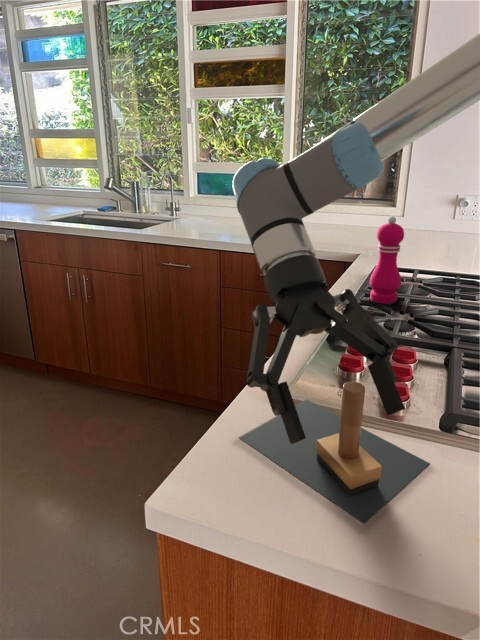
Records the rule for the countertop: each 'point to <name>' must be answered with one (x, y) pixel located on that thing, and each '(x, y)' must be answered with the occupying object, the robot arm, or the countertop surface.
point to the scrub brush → (349, 447)
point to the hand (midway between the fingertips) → (349, 426)
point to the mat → (306, 468)
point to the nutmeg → (370, 312)
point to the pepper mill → (387, 264)
